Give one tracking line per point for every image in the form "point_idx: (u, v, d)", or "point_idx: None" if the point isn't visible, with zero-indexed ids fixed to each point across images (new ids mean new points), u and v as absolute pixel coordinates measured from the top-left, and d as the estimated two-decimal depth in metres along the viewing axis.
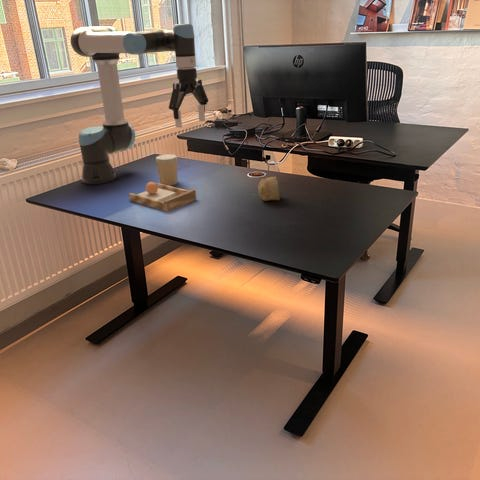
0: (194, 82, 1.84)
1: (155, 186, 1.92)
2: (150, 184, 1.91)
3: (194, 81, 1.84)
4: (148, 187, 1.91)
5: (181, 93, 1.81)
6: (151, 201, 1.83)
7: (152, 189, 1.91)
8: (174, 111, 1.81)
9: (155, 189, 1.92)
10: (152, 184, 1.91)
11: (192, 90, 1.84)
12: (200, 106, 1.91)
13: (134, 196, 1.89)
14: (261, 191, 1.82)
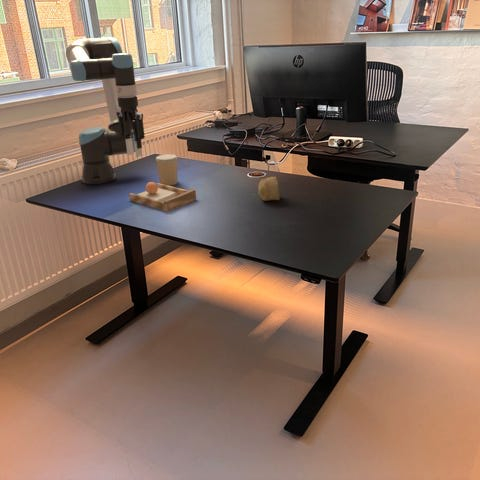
0: (131, 111, 1.82)
1: (155, 186, 1.92)
2: (150, 184, 1.91)
3: (131, 110, 1.82)
4: (148, 187, 1.91)
5: None
6: (151, 201, 1.83)
7: (152, 189, 1.91)
8: None
9: (155, 189, 1.92)
10: (152, 184, 1.91)
11: None
12: None
13: (134, 196, 1.89)
14: (261, 191, 1.82)
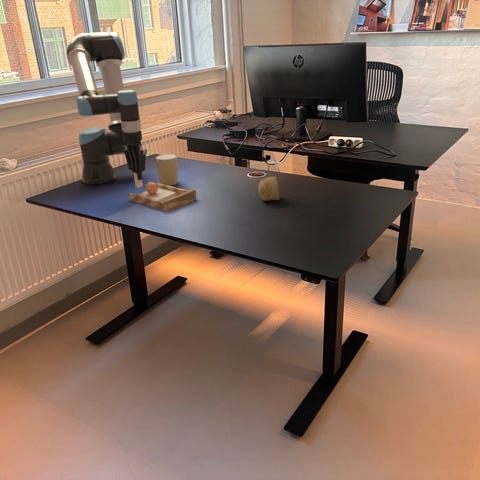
0: (136, 145, 1.88)
1: (155, 186, 1.92)
2: (150, 184, 1.91)
3: (136, 144, 1.88)
4: (148, 187, 1.91)
5: None
6: (151, 201, 1.83)
7: (152, 189, 1.91)
8: None
9: (155, 189, 1.92)
10: (152, 184, 1.91)
11: None
12: None
13: (134, 196, 1.89)
14: (261, 191, 1.82)
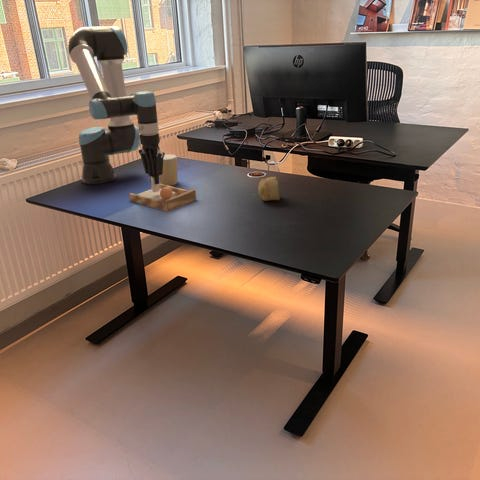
0: (153, 148, 1.82)
1: None
2: None
3: (154, 148, 1.82)
4: (160, 195, 1.88)
5: None
6: (151, 201, 1.83)
7: (160, 192, 1.88)
8: None
9: None
10: None
11: None
12: None
13: (134, 196, 1.89)
14: (261, 191, 1.82)
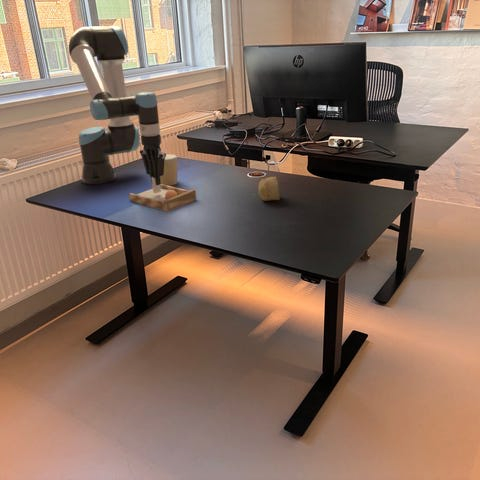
0: (155, 149, 1.82)
1: (169, 190, 1.87)
2: None
3: (155, 148, 1.81)
4: (165, 195, 1.85)
5: None
6: (151, 201, 1.83)
7: (168, 192, 1.85)
8: None
9: (170, 190, 1.86)
10: None
11: None
12: None
13: (134, 196, 1.89)
14: (261, 191, 1.82)
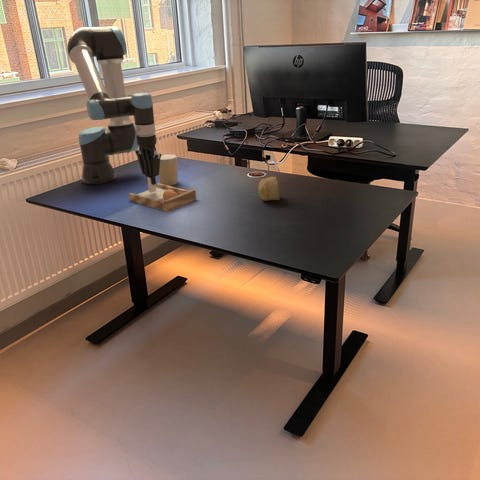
0: (150, 149, 1.84)
1: None
2: None
3: (151, 149, 1.83)
4: (163, 196, 1.86)
5: None
6: (151, 201, 1.83)
7: (164, 192, 1.86)
8: None
9: (166, 190, 1.87)
10: None
11: None
12: None
13: (134, 196, 1.89)
14: (261, 191, 1.82)
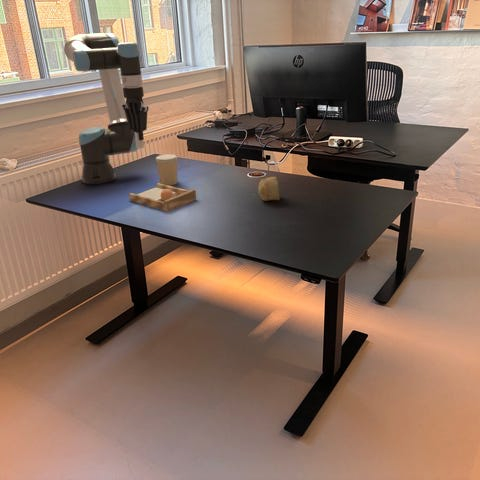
0: (137, 102, 1.78)
1: None
2: None
3: (137, 101, 1.78)
4: (161, 197, 1.87)
5: None
6: (151, 201, 1.83)
7: None
8: None
9: None
10: None
11: None
12: None
13: (134, 196, 1.89)
14: (261, 191, 1.82)
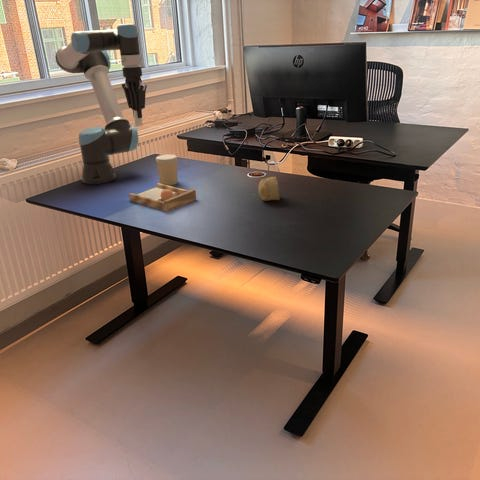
0: (136, 80, 1.88)
1: None
2: None
3: (136, 80, 1.87)
4: (161, 197, 1.87)
5: None
6: (151, 201, 1.83)
7: (161, 193, 1.87)
8: None
9: None
10: None
11: None
12: None
13: (134, 196, 1.89)
14: (261, 191, 1.82)
